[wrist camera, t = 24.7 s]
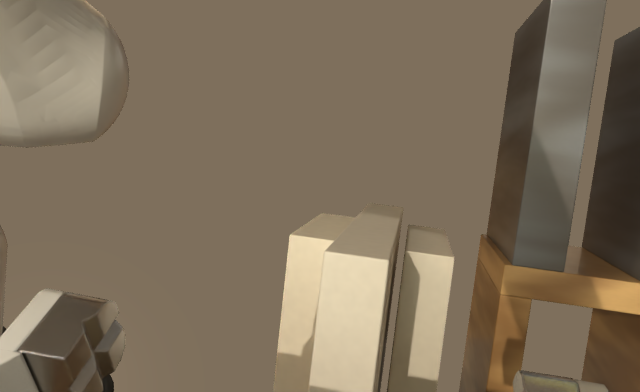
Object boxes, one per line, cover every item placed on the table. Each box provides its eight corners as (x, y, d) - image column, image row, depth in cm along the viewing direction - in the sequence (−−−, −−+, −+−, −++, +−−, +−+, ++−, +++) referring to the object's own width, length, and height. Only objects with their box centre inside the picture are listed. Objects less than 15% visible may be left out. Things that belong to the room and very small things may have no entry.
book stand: (434, 746, 30) (544, -13, 26) (429, 598, 40) (509, 32, 36) (615, 795, 28) (760, 1, 25) (564, 629, 38) (662, 43, 34)
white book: (286, 581, 22) (323, 250, 20) (347, 382, 40) (368, 202, 39) (347, 596, 21) (389, 260, 20) (380, 388, 40) (403, 207, 39)
